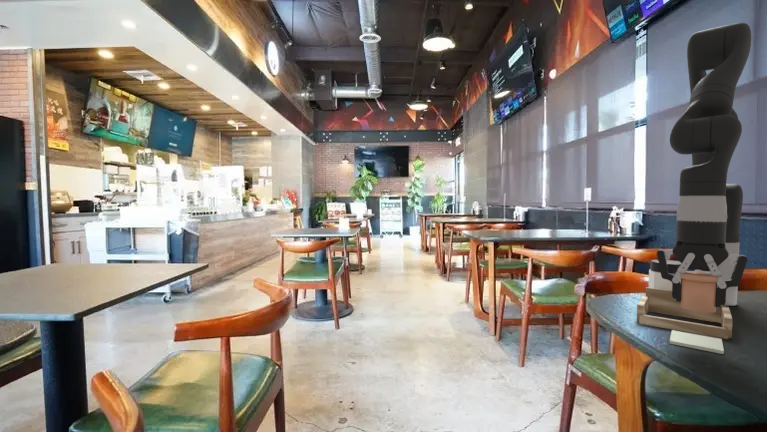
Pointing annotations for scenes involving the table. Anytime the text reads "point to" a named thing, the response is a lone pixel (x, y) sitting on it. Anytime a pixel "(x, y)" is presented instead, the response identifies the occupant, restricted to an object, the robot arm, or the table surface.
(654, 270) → the jar
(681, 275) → the pot
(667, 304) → the wooden tray
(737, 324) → the table surface
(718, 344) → the pad
